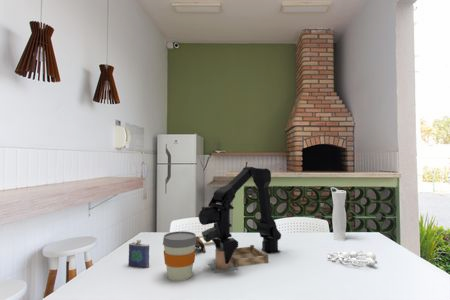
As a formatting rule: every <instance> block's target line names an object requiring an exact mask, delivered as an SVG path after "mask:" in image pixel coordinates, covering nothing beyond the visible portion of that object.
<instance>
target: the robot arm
mask: <svg viewBox="0 0 450 300" xmlns="http://www.w3.org/2000/svg"><path fill="white" fill-rule="evenodd" d="M251 178H252V181H253V183H254V185H255V186H256V188H257V194H258V196H257V197H258V202H259V203H258V204H259V210H260V219H259V221H257V222H256V225H257V231H258V233H259V236H260V238H262V242H261V243H262V244H261V246H262V248H261V251H263V252H264V253H265V254H268V255H269V254H275V253H280V250H279V240H281V237H282V234H281V232H280V230H278V228H277V227H278V226H277V224H276V221H275V220H274V218H273V217H272V216H273V215H272V210H271V209H272V207H271V198H270V191H269V185H270V184H271V182H272V173H271V170H270V169H269V168H262V167H261V168H259V167H253V166H245V167H243V168H242V170H241V171H240V172H239V173H238V174H237V175H236V176H235V177H234V178H233V179H232V180H230V181H229V182H228V183H227V184H226V185H223V186H221V187H219V188H218V189H216V190H215V191H214V192H213V196H212V198H211V199H210V201H209V203H208V206H202V207H201V210H200V211H199V214H198V221H199V223H200V224H201V225H203V226H205V225H211V224H213V227H210V228H208V229H206V230H203V231H202V232H201V236H203V238H204V240H205V241H206V242H209V241H210V240H212V241H213V242H214V243H215V249H216V248H218V247H220V248H221V249H222V250H223V251H224V258H225V263H226V264H228V263H229V261H230V259H231V257H232V255H233V253H234V251H235V249H237V248H239V241H238V240H237V239H236V238H234V237H232V233H231V228H232V226H233V225H232V224H233V223H231V210H234V209H235V207H234V206H233V205H232V204H231V203H232V202H233V201H234V200H235V198H236V194H237V193H238V191H239V190H240V189H241V188H242V187H243V186H244V184H246V183H247V182H248V181H249V180H250V179H251Z"/></svg>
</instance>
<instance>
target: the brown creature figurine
mask: <svg viewBox="0 0 450 300" xmlns="http://www.w3.org/2000/svg"><path fill="white" fill-rule="evenodd" d="M199 248H200V250H201V251H202V252H203V254H206V252H207V251H206V246H204V244H203V242H202V241H201V240H200V238H199V237H196V244H195V249H199Z"/></svg>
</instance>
